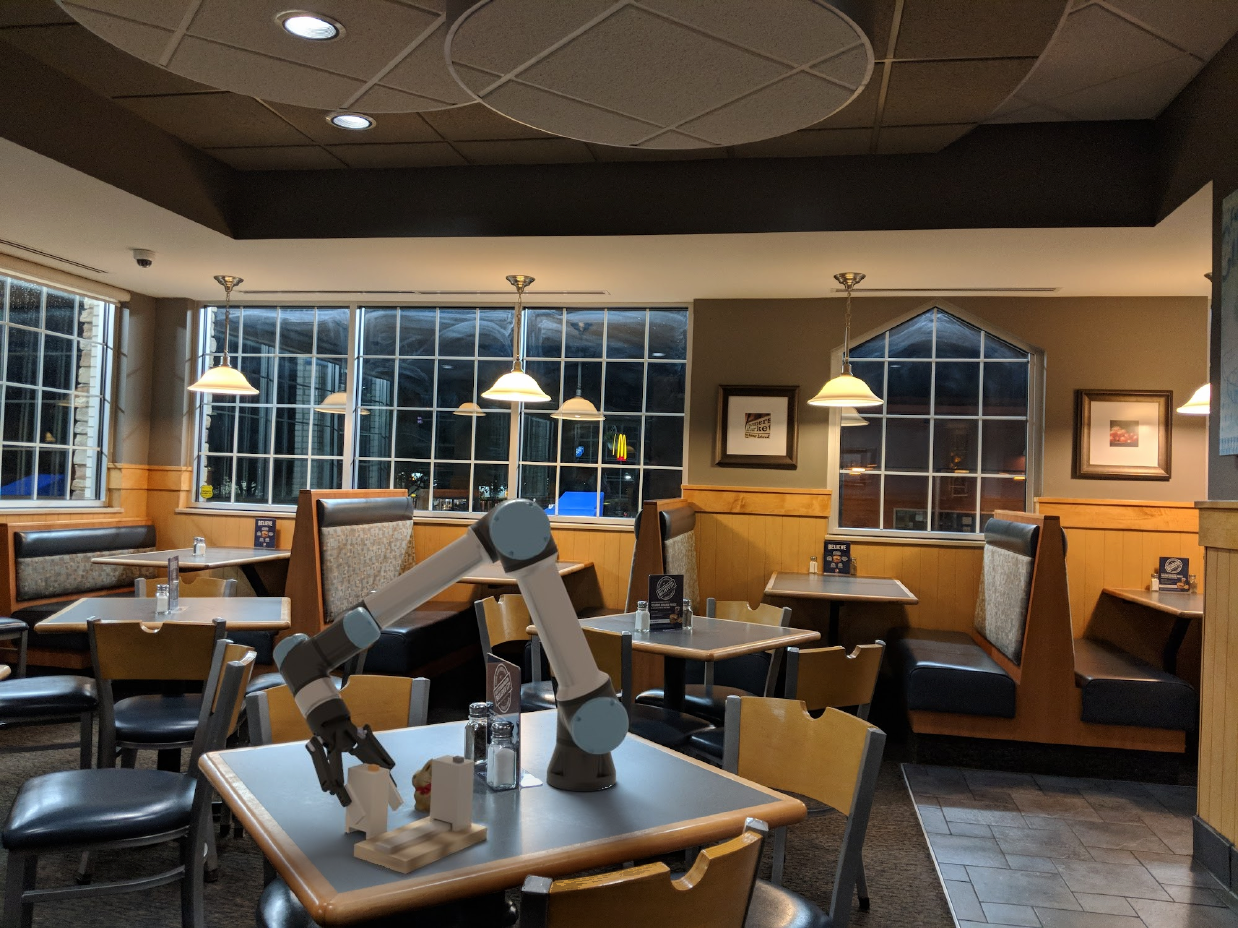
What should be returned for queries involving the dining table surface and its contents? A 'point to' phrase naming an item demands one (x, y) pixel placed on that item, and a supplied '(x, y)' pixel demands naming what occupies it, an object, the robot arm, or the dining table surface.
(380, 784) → the block
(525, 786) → the dining table surface
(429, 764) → the chocolate bunny
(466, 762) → the fitted module
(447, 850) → the rail board
